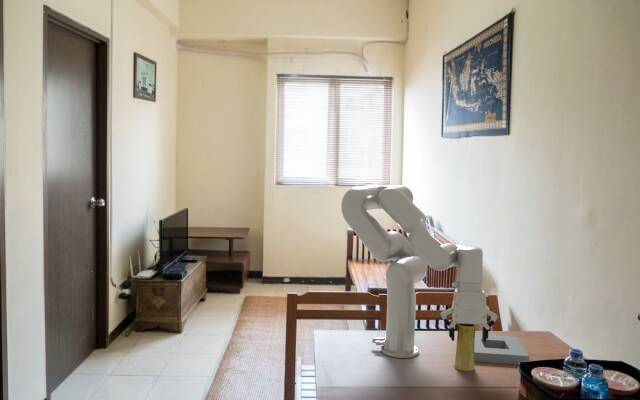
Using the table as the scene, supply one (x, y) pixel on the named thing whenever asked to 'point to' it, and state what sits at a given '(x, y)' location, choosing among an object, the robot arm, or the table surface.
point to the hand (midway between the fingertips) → (468, 340)
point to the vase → (465, 347)
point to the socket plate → (499, 350)
